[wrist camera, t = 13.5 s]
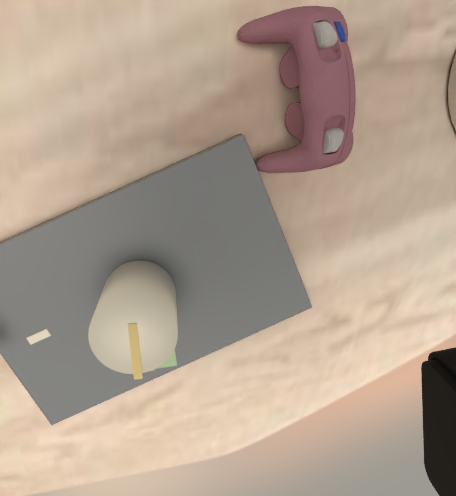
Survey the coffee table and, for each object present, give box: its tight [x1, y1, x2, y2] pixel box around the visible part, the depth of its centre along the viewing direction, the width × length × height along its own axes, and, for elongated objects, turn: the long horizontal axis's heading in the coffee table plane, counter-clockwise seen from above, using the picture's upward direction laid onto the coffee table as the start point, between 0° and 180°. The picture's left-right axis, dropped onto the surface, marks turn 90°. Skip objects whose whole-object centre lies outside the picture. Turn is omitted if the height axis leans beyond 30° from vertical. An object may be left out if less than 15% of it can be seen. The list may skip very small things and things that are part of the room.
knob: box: [88, 261, 178, 380], centre depth 28 cm, size 8×5×7 cm, turn 2°
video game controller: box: [237, 6, 355, 173], centre depth 27 cm, size 10×5×7 cm, turn 9°
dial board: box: [0, 134, 312, 425], centre depth 32 cm, size 22×14×2 cm, turn 113°
